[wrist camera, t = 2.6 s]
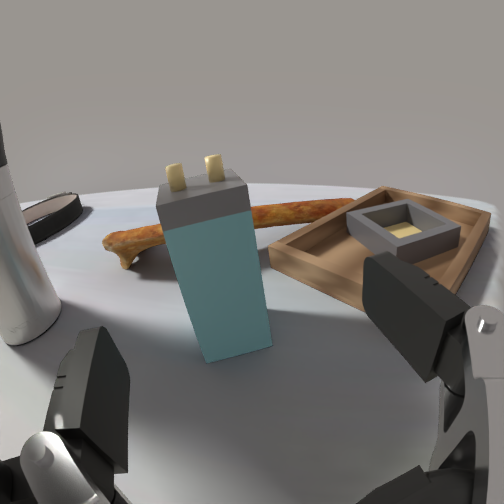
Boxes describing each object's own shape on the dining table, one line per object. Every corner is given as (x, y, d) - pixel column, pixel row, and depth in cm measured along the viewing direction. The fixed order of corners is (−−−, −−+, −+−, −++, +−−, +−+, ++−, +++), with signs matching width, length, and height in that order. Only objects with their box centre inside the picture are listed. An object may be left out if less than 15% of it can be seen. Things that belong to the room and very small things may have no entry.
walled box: (270, 267, 32) (267, 245, 31) (382, 201, 43) (382, 185, 42) (425, 340, 19) (433, 315, 18) (488, 231, 31) (491, 213, 29)
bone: (348, 209, 44) (360, 156, 36) (368, 255, 39) (388, 203, 31) (126, 242, 43) (99, 194, 35) (121, 292, 38) (86, 248, 30)
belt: (102, 198, 77) (97, 181, 75) (49, 246, 51) (40, 223, 48) (29, 219, 78) (24, 205, 75) (-27, 266, 51) (-35, 248, 49)
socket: (394, 270, 27) (397, 247, 26) (346, 232, 35) (346, 212, 34) (458, 246, 28) (461, 226, 27) (407, 216, 36) (408, 198, 35)
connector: (206, 363, 21) (148, 179, 15) (199, 322, 26) (154, 164, 19) (272, 345, 22) (242, 157, 16) (255, 307, 26) (226, 147, 20)
